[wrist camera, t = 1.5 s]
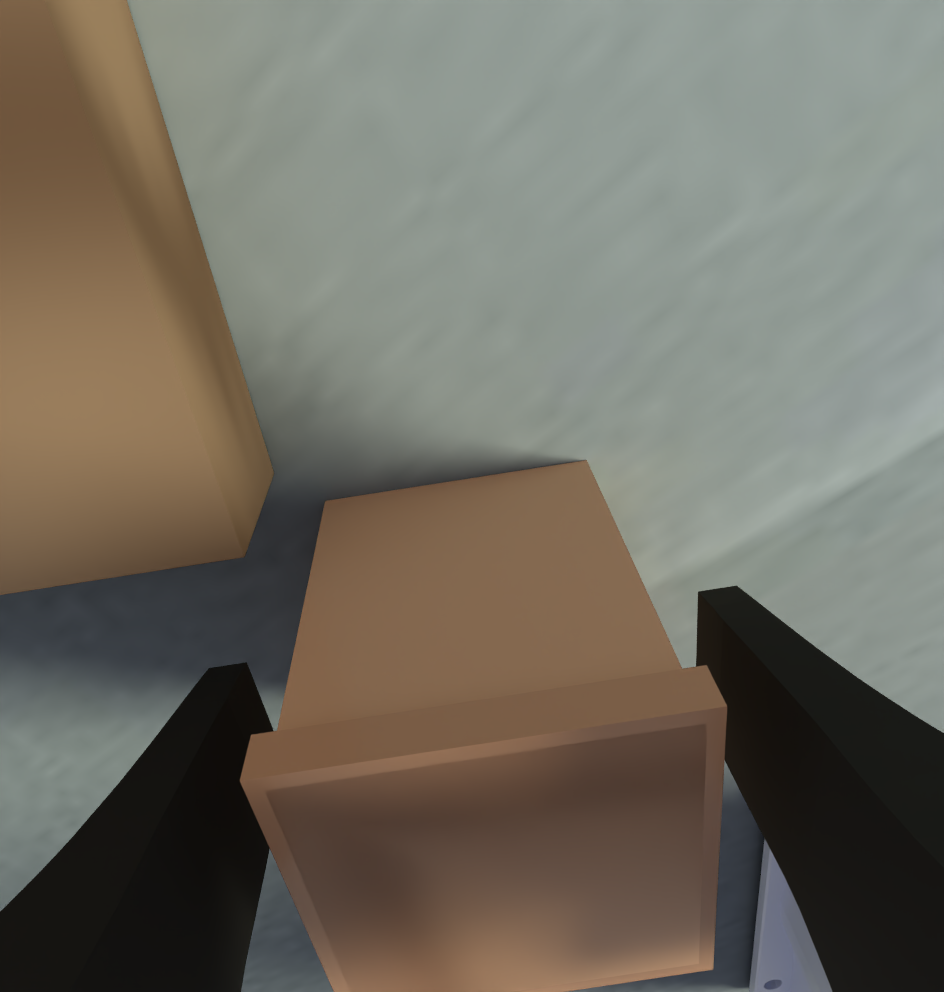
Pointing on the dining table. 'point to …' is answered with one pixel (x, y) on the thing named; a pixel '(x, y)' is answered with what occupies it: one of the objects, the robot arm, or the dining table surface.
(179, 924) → the robot arm
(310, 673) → the square wooden stamp
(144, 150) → the walnut block
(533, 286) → the dining table surface
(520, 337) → the dining table surface
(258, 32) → the dining table surface
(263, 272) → the dining table surface
